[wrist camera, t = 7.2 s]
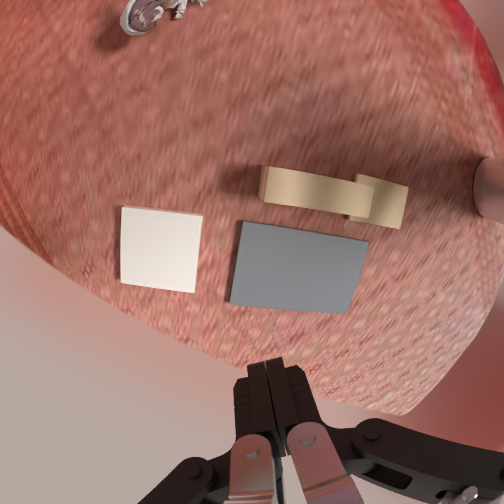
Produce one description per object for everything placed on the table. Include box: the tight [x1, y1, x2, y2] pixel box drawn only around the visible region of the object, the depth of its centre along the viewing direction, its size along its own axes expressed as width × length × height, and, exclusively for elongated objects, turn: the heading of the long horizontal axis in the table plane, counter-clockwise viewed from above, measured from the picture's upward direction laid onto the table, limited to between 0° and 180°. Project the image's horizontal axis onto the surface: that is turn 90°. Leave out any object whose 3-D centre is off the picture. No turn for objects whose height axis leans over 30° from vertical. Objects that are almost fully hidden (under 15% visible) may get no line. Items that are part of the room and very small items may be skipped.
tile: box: [120, 205, 203, 293], centre depth 27 cm, size 2×8×8 cm
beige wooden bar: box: [258, 165, 409, 229], centre depth 25 cm, size 17×5×4 cm, turn 82°
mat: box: [229, 220, 369, 314], centre depth 29 cm, size 14×9×1 cm, turn 80°
